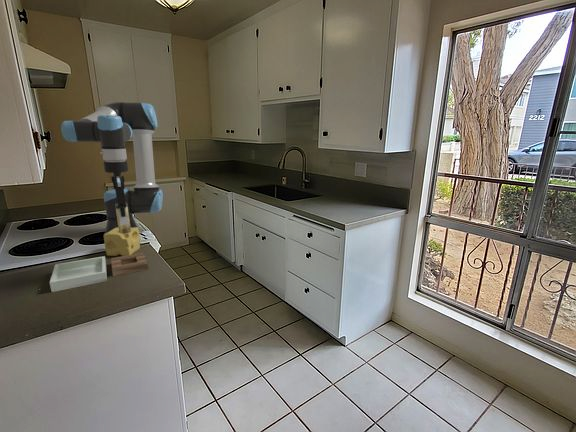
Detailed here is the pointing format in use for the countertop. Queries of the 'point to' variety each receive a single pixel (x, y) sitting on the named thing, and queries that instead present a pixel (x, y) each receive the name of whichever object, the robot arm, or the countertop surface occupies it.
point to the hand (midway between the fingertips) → (123, 222)
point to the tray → (78, 273)
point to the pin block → (129, 264)
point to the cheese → (122, 242)
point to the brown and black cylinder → (123, 228)
